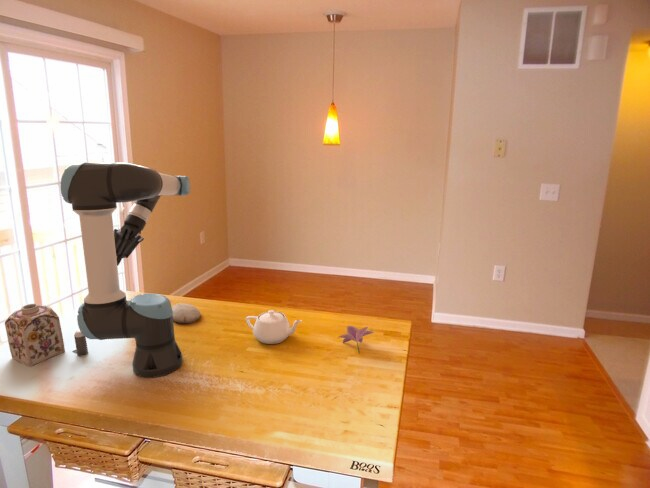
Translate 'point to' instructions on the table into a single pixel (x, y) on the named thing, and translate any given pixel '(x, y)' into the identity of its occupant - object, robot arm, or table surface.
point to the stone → (185, 313)
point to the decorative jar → (34, 334)
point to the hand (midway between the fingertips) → (108, 272)
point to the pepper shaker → (80, 343)
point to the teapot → (271, 327)
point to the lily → (355, 334)
